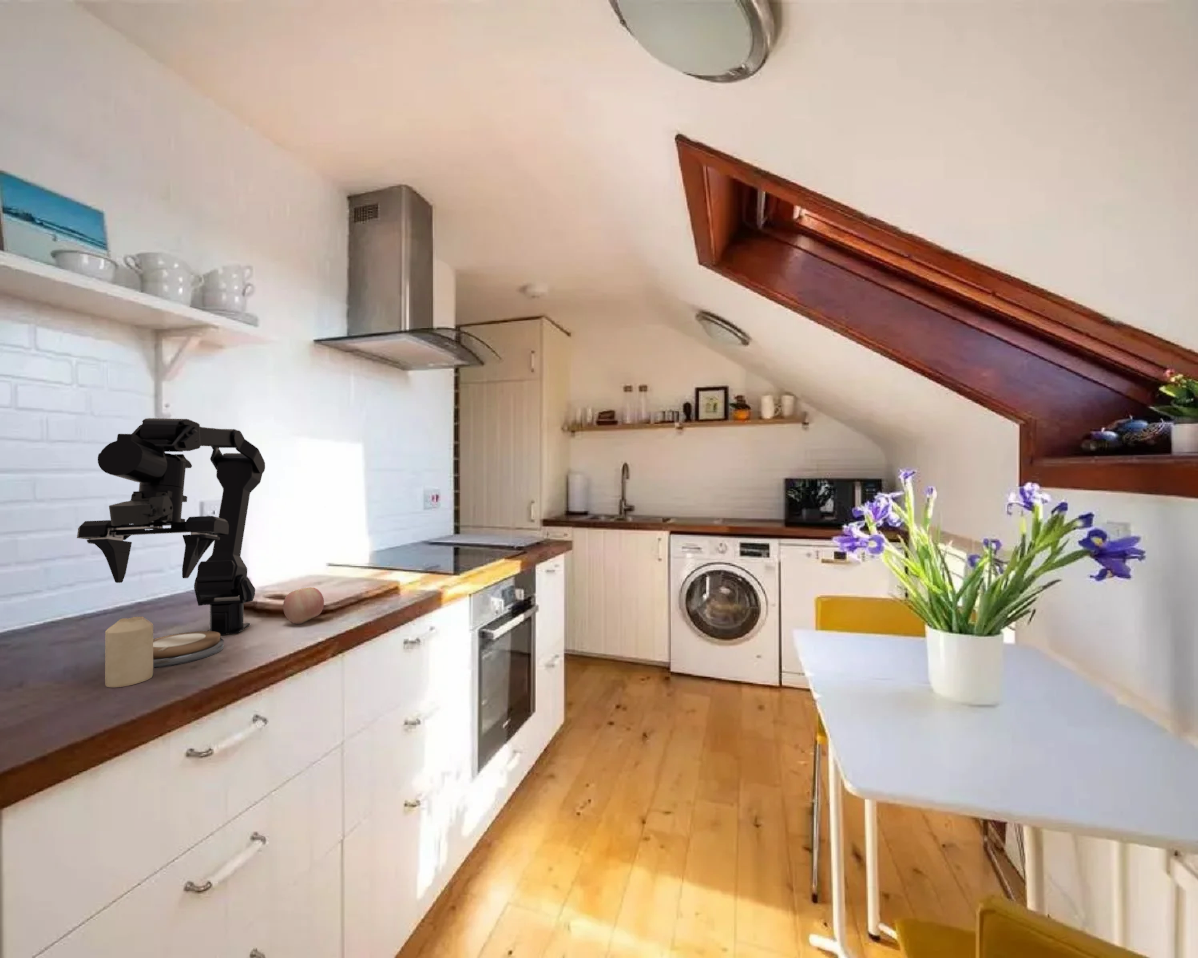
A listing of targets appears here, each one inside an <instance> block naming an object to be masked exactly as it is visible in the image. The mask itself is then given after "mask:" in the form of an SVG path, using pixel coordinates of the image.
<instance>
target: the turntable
mask: <svg viewBox="0 0 1198 958" xmlns="http://www.w3.org/2000/svg"><path fill="white" fill-rule="evenodd" d="M220 638H221V635H220V633H218V632H215V631H208V630H199V631H197V630H196V631H188V632H186V631H185V632H179V633H173V634H169V635H165V636H160V637H157V638H153V659H156V658H166V657H173V656H179V655H184V654H189V653H193V652H197V651H201V650H204V649H207V648H209V647H212V646H214V645H216V644H218V643H219V642H220Z"/></svg>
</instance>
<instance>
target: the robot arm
mask: <svg viewBox="0 0 1198 958" xmlns="http://www.w3.org/2000/svg"><path fill="white" fill-rule="evenodd" d="M200 424H201V423H199V422H196V421H193V420H191V419H188V418H164V417H163V418H156V417H155V418H154V417H153V418H151V417H147V418H144V419H143V420H142V421H141V424H140V425H139V426H137V427H136V429H135V430H133V432H132V433H118V434H117V436H116V440H114V441H112V442H109V443H108V444H107V445H106V446H105V447H103V448H102V450H101V451H100V453H98V456H97V464H98V467H99V468H100V470H102V472H104V473H106V474H107V475H108V474H109V475H110V476H113V477H114V476H115V477H118V478H122V479H126V480H128V481H131V482H134V483H135V482H136V483H139V487H138V490H137V491H135V490H134V491H132V493H131V498H130V500H128V501H121V502H118V503H114V504H109V505H108V510H109V516H110V519H109V520H108V519H107V520H84V522H82V523H81V525H80V526H79V527H78V528H77V535H76V539H81V540H86V542H87V544H91V545H95V547H97V548H99V550H100V551H101V552H102V554H103V555H104V557H105V560H106V562H107V565H108V567H109V570H110V572H111V574H112V577H113V580H114V582H115V583H117V584H120V583H121V584H122V583H123V581H124V579H125V577H126V574H127V568H128V563H129V558H130V553H131V549H132V544H133V542H132V541H126V540H127V539H128V538H129V537H131V536H139V535H143V536H144V535H160V534H162V535H163V534H181V533H183V535H182V538H183V539H182V540H183V542H184V545H185V547H184V553H183V560H182V567H181V568H182V569H181V572H182V575H181V577H182V579H189V578H190V575H192V573H193V571H194V570H195V568H196V566H197V574H196V577H195V580H194V584H193V590H194V593H195V597H196V601H197V606H199V607H201V606H209V629H208V630H207V631H215V632H218V633H220V636H223V635H232V634H233V635H234V634H239V633H241V632H242V631H243V630H245V629H246V628H248V627H250V626H251V622H245V623H244V604H246V603H249V602H253V601H254V599H255V596H256V588H255V586H254V585H253V583H252V582H251V580H250V578H249V577H248V567H247V565H246V564H245V561H244V560H243V559H242V557H241V555H242V549H243V541H244V535H245V528H246V527H245V526H246V522H247V515H248V510H249V509H248V508H249V502H250V498H251V497H250V495H251V493H252V492H253V491H254V489H255V488H256V487H258V486H259V485H260V483H261V481H262V477H263V474H264V472H265V470H266V462H265V460H264V458H263V456H262V453H261V452H260V450H259V448H258V447H256V445H254V444H252V443H251V442H250V441H248V440H247V439H245V437H244V435H243V433H242V432H241V430H239V429H235V428H213V427H204V426H200ZM201 447H211V449H212V452H211V455H210V458H209V459H210V462H211V463H212V465H213V467H214V468H215V470H216V475H215V476H216V479H217V481H218V482H219V484H220V486H221V487H222V496H221V502H220V507H219V513H218V517H217V516H214V515H203V516H202V515H200V516H188V517H187V519H185V518H182V513H183V503H188V495H187V496H186V495H184V490H185V489H184V487H185V478H186V469H191V468H192V467H193V464H192V463H191V461H190V460H189V459H187V458H186V456H185V455H184V454H183V453H182V454H181V452H191V451H194V450H198V449H200V448H201ZM223 448H224V449H226V448H227V449H228V448H230V449H232V448H233V449H235V450H236V451H237V452H225V453H222V452H221V450H220V449H223ZM169 452H170V453H169ZM171 452H175V453H173V454H172V453H171ZM176 452H178V453H177V454H176ZM179 453H180V454H179ZM164 526H165V527H164ZM166 526H167V527H166ZM168 526H170V527H168ZM184 533H185V534H184ZM186 533H190V534H186ZM212 544H213V548H212V554H211V555H210V556H209V557H208V559H207V560H204V561H203V560H202V561H200V560H201V558H202V557H203V556H204V554H205V553H206V551H207V550H208V549H209V548H210V546H211V545H212ZM199 561H200V562H199ZM198 563H199V564H198Z"/></svg>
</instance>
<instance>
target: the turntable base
mask: <svg viewBox="0 0 1198 958" xmlns="http://www.w3.org/2000/svg"><path fill="white" fill-rule="evenodd" d="M224 644H225V641H224V639H223V638H222V637H220V642H219V643H218V644H216V645H214V646H212V647H209V648H207V649H204V650H201V651H197V652H193V653H189V654H184V655H179V656H173V657H166V658H156V659H153V669H154V668H155V669H157V668H164V667H172V666H177V665H181V664H186V663H191V662H195V661H199V660H202V659H206V658H208V657H211V656H213V655H215V654H216V655H217V653H219V652H221V651H222V650H223V649H224V647H225V646H224Z"/></svg>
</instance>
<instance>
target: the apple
mask: <svg viewBox="0 0 1198 958" xmlns="http://www.w3.org/2000/svg"><path fill="white" fill-rule="evenodd" d="M324 607H325V599H324V596H323V594H322V592H321V591H320V590H319V589H318V588H316V587H313V586H312V587H303V588H300V589H299V588H298V589H295V590H292V591H290V592H288V593H287V594H286V596H285V598H284V600H283V603H282V609H283V613H284V615H285V617H286V618H287V620H288V621H290V622H291V623H292V624H295V625H296V624H297V625H302V624H304V623H306V622H307V621H310V620H312V619H313V618H315V617H318V616H319V615H320V614H321V613H322V611H323V610H324Z"/></svg>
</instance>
